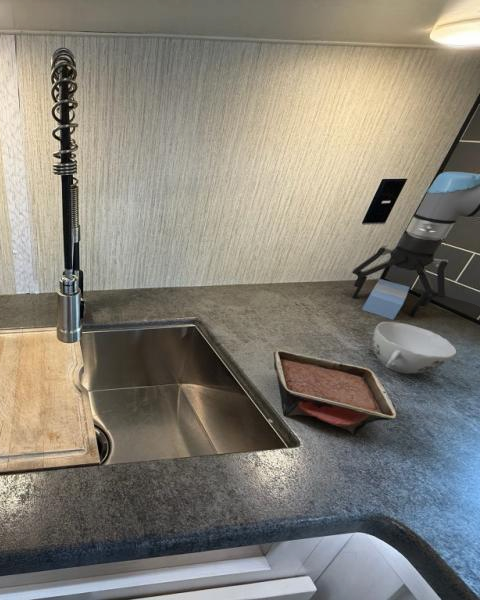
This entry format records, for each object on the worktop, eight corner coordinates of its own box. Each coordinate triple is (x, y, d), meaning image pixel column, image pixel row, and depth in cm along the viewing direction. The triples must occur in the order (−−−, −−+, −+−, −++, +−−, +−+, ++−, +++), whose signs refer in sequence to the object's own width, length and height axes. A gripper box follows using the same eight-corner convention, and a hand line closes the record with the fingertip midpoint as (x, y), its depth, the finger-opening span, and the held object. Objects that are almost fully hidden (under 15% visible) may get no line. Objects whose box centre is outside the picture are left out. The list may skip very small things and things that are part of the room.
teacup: (375, 341, 78) (392, 314, 74) (442, 372, 69) (466, 344, 64) (344, 361, 72) (361, 333, 67) (414, 398, 62) (438, 369, 58)
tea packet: (371, 292, 99) (379, 278, 97) (400, 301, 95) (410, 286, 92) (361, 309, 90) (369, 294, 88) (393, 320, 86) (403, 304, 83)
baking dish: (369, 458, 53) (411, 421, 48) (260, 411, 58) (288, 372, 53) (345, 402, 65) (377, 367, 60) (256, 367, 70) (278, 332, 65)
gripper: (362, 227, 87) (329, 293, 98) (495, 253, 71) (438, 328, 83) (367, 222, 91) (336, 286, 102) (494, 245, 76) (440, 317, 87)
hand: (381, 305), depth 92 cm, fingers open, 12 cm apart
